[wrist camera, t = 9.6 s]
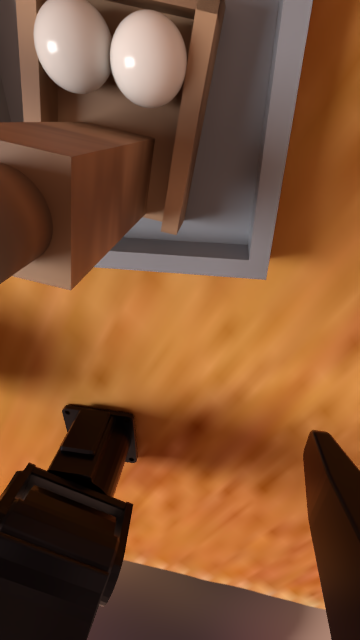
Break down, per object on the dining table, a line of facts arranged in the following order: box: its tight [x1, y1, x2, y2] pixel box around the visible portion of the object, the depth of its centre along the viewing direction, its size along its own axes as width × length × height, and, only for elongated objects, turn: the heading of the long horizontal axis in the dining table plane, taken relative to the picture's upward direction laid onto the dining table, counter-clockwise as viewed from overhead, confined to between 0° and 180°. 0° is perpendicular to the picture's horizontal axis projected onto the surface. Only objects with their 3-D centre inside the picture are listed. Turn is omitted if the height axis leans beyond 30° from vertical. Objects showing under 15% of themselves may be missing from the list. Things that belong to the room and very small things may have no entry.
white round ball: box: [34, 0, 112, 94], centre depth 13 cm, size 3×3×3 cm
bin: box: [0, 0, 313, 280], centre depth 15 cm, size 17×15×3 cm
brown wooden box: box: [0, 0, 226, 290], centre depth 11 cm, size 9×8×12 cm
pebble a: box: [110, 9, 187, 108], centre depth 13 cm, size 3×3×3 cm
